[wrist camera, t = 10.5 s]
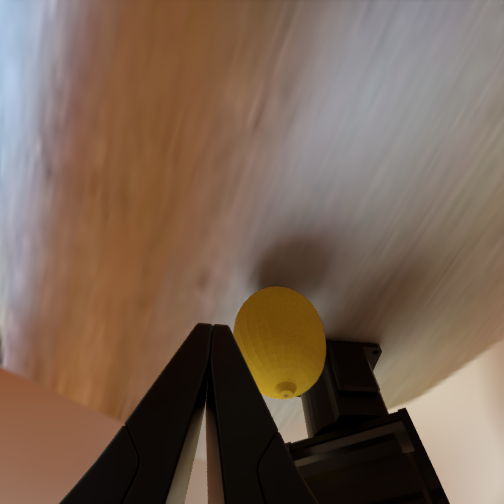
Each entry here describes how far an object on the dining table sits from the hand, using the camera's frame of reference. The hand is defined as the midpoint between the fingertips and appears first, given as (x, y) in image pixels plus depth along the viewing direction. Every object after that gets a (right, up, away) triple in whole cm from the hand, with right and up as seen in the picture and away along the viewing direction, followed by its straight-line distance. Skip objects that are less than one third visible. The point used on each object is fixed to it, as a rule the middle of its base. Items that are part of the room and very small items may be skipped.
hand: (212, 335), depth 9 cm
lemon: (+3, -1, +15) cm, 15 cm away
